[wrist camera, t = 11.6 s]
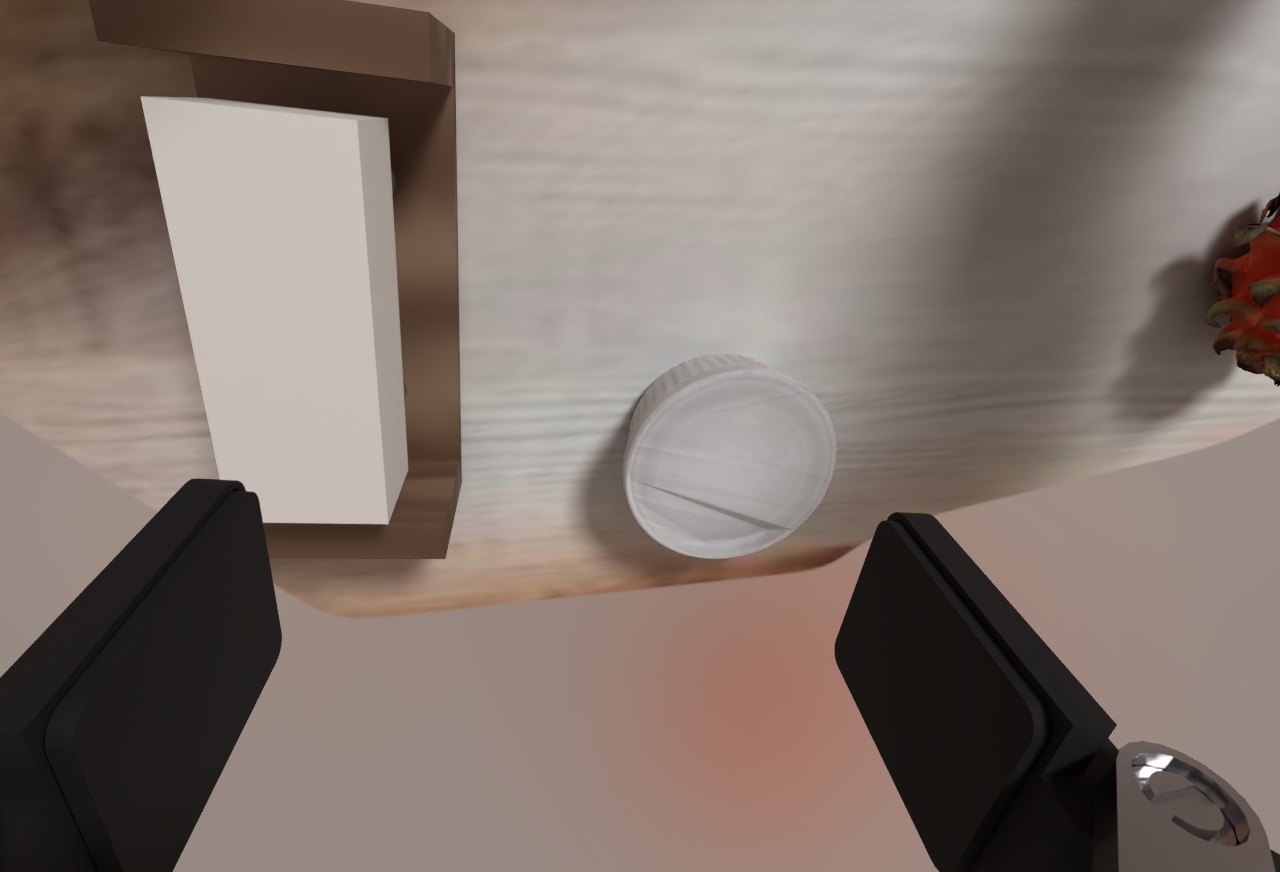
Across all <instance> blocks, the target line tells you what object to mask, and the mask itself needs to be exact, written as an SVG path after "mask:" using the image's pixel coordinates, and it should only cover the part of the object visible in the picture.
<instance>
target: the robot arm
mask: <svg viewBox="0 0 1280 872" xmlns="http://www.w3.org/2000/svg"><path fill="white" fill-rule="evenodd" d="M281 641H282V634H281V627H280V621H279V615H278V609H277V603H276V597H275V591H274V585H273V579H272V573H271V568H270V562H269V556H268V550H267V544H266V538H265V532H264V526H263V520H262V514H261V508H260V502H259V498H258V496H257V494H256V493H255V492H249V491H246V489H245V487H244V485H243V484H242V483H241V482H240V481H236V480H215V479H191V480H189V481H188V482H187V483H185V484H184V485H183V487H182V488H181V489H180V490H179V491H178V492H177V493H176V494H175V495H174V496H173V497H172V498H171V499H170V500H169V501H168V502H167V503H166V504H165V505H164V506H163V508H162V509H161V510H160V511H159V512H158V513H157V514H156V515H155V516H154V517H153V518H152V519H151V520H150V521H149V522H148V523H147V524H146V526H145V527H144V528H143V529H142V530H141V531H140V532H139V533H138V534H137V535H136V536H135V537H134V538H133V539H132V540H131V541H130V542H129V543H128V544H127V545H126V546H125V548H124V549H123V550H122V551H121V552H120V553H119V554H118V555H117V556H116V557H115V558H114V559H113V560H112V561H111V562H110V563H109V565H107V567H106V568H105V569H104V570H103V571H102V572H101V573H100V574H99V575H98V576H97V577H96V578H95V579H94V580H93V581H92V582H91V583H90V584H89V585H88V586H87V587H86V588H85V589H84V590H83V592H82V593H81V594H80V595H79V596H78V597H77V598H76V599H75V600H74V601H73V602H72V603H71V604H70V605H69V606H68V607H67V609H65V610H64V611H63V613H62V614H61V615H60V616H59V617H58V618H57V619H56V620H55V621H54V622H53V623H52V624H51V625H50V626H49V627H48V628H47V629H46V630H45V631H44V633H43V634H42V635H41V636H40V637H39V638H38V639H37V640H36V641H35V642H34V643H33V644H32V645H31V646H30V647H29V648H28V649H27V650H26V651H25V652H24V654H23V655H22V656H21V657H20V658H19V659H18V660H17V661H16V662H15V663H14V664H13V665H12V666H11V667H10V668H9V669H8V670H7V671H6V673H4V675H3V676H2V677H1V678H0V872H173V869H174V867H175V865H176V863H177V861H178V859H179V857H180V855H181V853H182V851H183V849H184V847H185V845H186V843H187V841H188V839H189V837H190V835H191V833H192V831H193V829H194V827H195V825H196V823H197V821H198V819H199V817H200V815H201V813H202V811H203V809H204V807H205V805H206V803H207V801H208V799H209V797H210V795H211V793H212V791H213V789H214V787H215V785H216V782H217V781H218V778H219V777H220V775H221V773H222V771H223V768H224V767H225V764H226V762H227V760H228V758H229V756H230V754H231V752H232V750H233V748H234V746H235V744H236V742H237V740H238V738H239V736H240V734H241V732H242V730H243V728H244V726H245V724H246V722H247V720H248V718H249V716H250V714H251V712H252V710H253V708H254V706H255V704H256V702H257V699H258V698H259V696H260V694H261V692H262V690H263V688H264V686H265V684H266V682H267V680H268V678H269V676H270V674H271V672H272V669H273V668H274V666H275V664H276V661H277V659H278V656H279V653H280V649H281ZM835 659H836V662H837V665H838V668H839V670H840V672H841V674H842V676H843V678H844V680H845V682H846V684H847V686H848V688H849V690H850V692H851V694H852V696H853V699H854V701H855V703H856V705H857V707H858V709H859V711H860V713H861V715H862V717H863V719H864V721H865V723H866V725H867V728H868V729H869V732H870V734H871V736H872V738H873V740H874V742H875V744H876V746H877V748H878V750H879V752H880V755H881V757H882V758H883V761H884V763H885V765H886V767H887V769H888V771H889V773H890V775H891V777H892V779H893V782H894V784H895V786H896V788H897V790H898V792H899V794H900V796H901V798H902V800H903V802H904V804H905V806H906V809H907V811H908V813H909V815H910V817H911V819H912V821H913V823H914V825H915V827H916V829H917V831H918V833H919V835H920V838H921V839H922V842H923V844H924V846H925V848H926V850H927V852H928V854H929V856H930V858H931V860H932V862H933V864H934V865H935V867H936V868H937V869H938V870H939V872H1280V855H1279V854H1278V853H1276V852H1274V851H1272V850H1270V847H1269V842H1268V839H1267V835H1266V832H1265V830H1264V828H1263V826H1262V823H1261V822H1260V819H1259V817H1258V816H1257V815H1256V813H1255V812H1254V811H1253V809H1252V808H1251V807H1250V805H1249V804H1248V803H1247V801H1246V800H1245V799H1244V798H1243V797H1242V796H1241V795H1240V794H1239V793H1238V792H1237V791H1236V790H1235V789H1234V788H1233V787H1232V786H1231V785H1230V784H1229V783H1228V782H1227V781H1225V780H1224V779H1223V778H1221V777H1220V776H1219V775H1217V774H1216V773H1215V772H1213V771H1212V770H1211V769H1209V768H1208V767H1206V766H1205V765H1203V764H1202V763H1200V762H1198V761H1196V760H1194V759H1193V758H1191V757H1189V756H1187V755H1186V754H1184V753H1182V752H1179V751H1177V750H1174V749H1171V748H1169V747H1166V746H1164V745H1161V744H1156V743H1151V742H1145V741H1139V742H1130V743H1127V744H1126V745H1125V746H1123V747H1122V748H1120V749H1119V750H1118V749H1117V748H1116V747H1115V746H1114V744H1113V743H1112V742H1111V741H1110V740H1109V739H1108V737H1109V736H1110V734H1111V733H1112V731H1113V730H1114V729H1115V727H1116V726H1117V725H1116V723H1115V722H1114V721H1113V720H1112V719H1111V718H1110V717H1109V715H1108V714H1107V713H1106V712H1105V711H1104V710H1103V709H1102V708H1101V706H1100V705H1099V704H1098V703H1097V702H1096V701H1095V699H1094V698H1093V697H1092V696H1091V695H1090V694H1089V693H1088V691H1087V690H1086V689H1085V688H1084V687H1083V686H1082V685H1081V683H1080V682H1079V681H1078V680H1077V679H1076V678H1075V677H1074V675H1072V673H1071V672H1070V671H1069V670H1068V669H1067V668H1066V666H1065V665H1064V664H1063V663H1062V662H1061V661H1060V660H1059V659H1058V657H1057V656H1056V655H1055V654H1054V653H1053V652H1052V651H1051V649H1050V648H1049V647H1048V646H1047V645H1046V644H1045V642H1044V641H1043V640H1042V639H1041V638H1040V637H1039V636H1038V635H1037V634H1036V632H1035V631H1034V630H1033V629H1032V628H1031V626H1030V625H1029V624H1028V623H1027V622H1026V621H1025V620H1024V618H1022V616H1021V615H1020V614H1019V613H1018V612H1017V611H1016V609H1015V608H1014V607H1013V606H1012V605H1011V604H1010V603H1009V601H1008V600H1007V599H1006V598H1005V597H1004V596H1003V595H1002V593H1001V592H1000V591H999V590H998V589H997V588H996V587H995V585H994V584H993V583H992V582H991V581H990V580H989V579H988V577H987V576H986V575H985V574H984V573H983V572H982V571H981V569H980V568H979V567H978V566H977V565H976V564H975V563H974V561H973V560H972V559H971V558H970V557H969V556H968V555H967V553H966V552H965V551H964V550H963V549H962V548H961V547H960V545H959V544H958V543H957V542H956V541H955V540H954V539H953V537H952V536H951V535H950V534H949V533H948V532H947V531H946V530H945V528H944V527H943V526H942V525H941V524H940V523H939V521H938V520H937V519H936V518H935V517H933V516H932V515H930V514H922V513H901V512H896V513H893V514H891V515H890V516H889V517H888V519H887V521H882V522H881V523H880V524H879V525H878V527H877V529H876V531H875V534H874V537H873V540H872V542H871V545H870V548H869V551H868V553H867V556H866V559H865V562H864V565H863V567H862V570H861V573H860V575H859V578H858V581H857V584H856V587H855V589H854V592H853V595H852V598H851V600H850V603H849V606H848V609H847V611H846V614H845V617H844V620H843V623H842V625H841V628H840V631H839V633H838V636H837V639H836V642H835Z"/></svg>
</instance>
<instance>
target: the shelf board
mask: <svg viewBox="0 0 1280 872" xmlns="http://www.w3.org/2000/svg"><path fill="white" fill-rule="evenodd" d="M140 97H141V101H142V106H143V111H144V116H145V121H146V125H147V130H148V135H149V140H150V145H151V150H152V154H153V159H154V164H155V169H156V174H157V178H158V183H159V188H160V193H161V198H162V202H163V207H164V212H165V217H166V222H167V227H168V231H169V236H170V241H171V246H172V251H173V255H174V260H175V265H176V270H177V275H178V280H179V284H180V289H181V294H182V299H183V304H184V308H185V313H186V318H187V323H188V328H189V333H190V337H191V342H192V347H193V352H194V357H195V361H196V366H197V371H198V376H199V381H200V385H201V390H202V395H203V400H204V405H205V410H206V414H207V419H208V424H209V429H210V434H211V438H212V443H213V448H214V453H215V458H216V463H217V467H218V472H219V477H220V480H236V481H240V482H241V483H242V484H243V485H244V487H245V489H246V491H249V492H255V493H256V494H257V496H258V498H259V502H260V508H261V514H262V520H263V523H327V524H389V521H390V518H391V515H392V513H393V510H394V507H395V505H396V502H397V499H398V496H399V494H400V491H401V488H402V486H403V483H404V480H405V477H406V475H407V472H408V456H407V438H406V421H405V404H404V386H403V369H402V352H401V335H400V317H399V300H398V283H397V265H396V248H395V231H394V214H393V196H392V179H391V162H390V145H389V127H388V118H384V117H376V116H367V115H358V114H349V113H340V112H331V111H323V110H314V109H305V108H296V107H287V106H279V105H270V104H261V103H252V102H243V101H234V100H226V99H217V98H198V97H148V96H140Z"/></svg>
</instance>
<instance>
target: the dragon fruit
mask: <svg viewBox="0 0 1280 872" xmlns="http://www.w3.org/2000/svg"><path fill="white" fill-rule="evenodd" d="M1279 206H1280V194H1279V195H1278V196H1277V197H1276V198H1274V199H1271V200H1270V201H1269V202H1268V204H1267V206H1266V208H1265V209H1264V210H1263V209H1262V210H1263V211H1262V215H1261V220H1260V223H1261V222H1262V221H1263V219H1264V217H1268V218H1269V217H1270V216H1272V215H1273V214H1274V212H1275V211H1276V210H1277V209H1278V207H1279ZM1268 210H1270V213H1269V215H1268V216H1265V215H1266V213H1267V212H1268ZM1234 238H1235V239H1234V246H1235V247H1238V246H1240V245H1243V244H1245V243H1249V242H1250V247H1251V250H1250V252H1248V253H1247V254H1245V255H1244V256H1242V257H1240V258H1237V259H1229V258H1220V259H1218V260H1217V261H1216V262H1215V265H1214V268H1213V270H1212V275H1213V281H1212V282H1213V286H1214V288H1215V289H1218V290H1219V291H1220V292H1221V294H1222V295H1221V296H1219V297H1218V302H1217V303H1216V304H1214V305H1213V306H1212V307H1211V308H1210V309H1209V311H1208V313H1207V315H1206V318H1205V322H1206V323H1207V324H1209V325H1211V326H1213V327H1219V328H1220V327H1221V326H1220V325H1219V324H1218V323H1217V322H1214V316H1215V315H1217V314H1219V313H1225V314H1227V315H1229V316H1230V317H1231V319H1230V321H1231V323H1230V324H1229V325H1228V326H1227V327H1225V328H1224V330H1223V331H1222V332H1221V333H1220V334H1219V335H1218V336H1217V338H1216V339H1215V341H1214V344H1213V349H1214V350H1215V353H1217V354H1218V355H1220V354H1221V353H1220V352H1221V351H1224V350H1226V349H1234V350H1238V351H1237V354H1236V358H1237V366H1238V367H1239V368H1242V369H1243V370H1245V371H1249V372H1251V373H1255V374H1263V373H1264V374H1265V376H1269V377H1270V378H1271V379H1273V381H1275V382H1274V383H1275V385H1276V384H1278V385H1277V387H1278V386H1279V385H1280V215H1279V216H1278V217H1277V218H1276V219H1275V220H1274V221H1273V222H1272V223H1271V224H1269V225H1268V223H1263V224H1249V225H1247V226H1246V227H1242V228H1237V229H1235V230H1234ZM1222 269H1224V270H1227V271H1229V273H1230V275H1231V279H1232V290H1230V288H1229V286H1228V284H1227V283H1226V282H1225V281H1224V280H1223V278H1222V276H1221V274H1220V273H1221V270H1222Z"/></svg>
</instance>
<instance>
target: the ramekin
mask: <svg viewBox="0 0 1280 872" xmlns="http://www.w3.org/2000/svg"><path fill="white" fill-rule="evenodd" d="M836 454H837V443H836V435H835V430H834V426H833V423H832V421H831V418H830V416H829V414H828V412H827V410H826V409H825V407H824V405H823V404H822V402H821V401H820V399H819V398H818V397H817V396H816V395H815V394H814V393H813V392H812V391H811V390H810V389H809V388H808V387H807V386H805V385H804V384H803V383H801V382H800V381H799V380H797V379H795V378H794V377H792V376H790V375H788V374H786V373H784V372H781V371H779V370H776V369H773V368H769V367H767V366H765V365H764V364H762V363H760V362H756V361H754V360H753V359H751V358H746V357H743V356H739V355H731V354H714V355H705V356H702V357H697V358H693V359H691V360H689V361H686V362H682V363H681V364H679V365H678V366H676V367H673V368H671V369H670V370H669V371H667V372H666V373H664V374H662V375H661V376H660V377H659V378H658V379H657V380H656V381H654V383H653V384H652V385H651V386H650V387H649V388H648V389H647V390H646V392H645V394H644V395H643V397H642V398H641V399H640V401H639V403H638V406H637V407H636V409H635V411H634V415H633V418H632V420H631V424H630V431H629V436H628V443H627V446H626V450H625V454H624V459H623V466H622V482H623V489H624V494H625V498H626V501H627V504H628V507H629V509H630V512H631V514H632V516H633V517H634V519H635V521H636V522H637V524H638V525H639V526H640V527H641V528H642V530H643V531H644V532H645V533H646V534H647V535H648V536H650V537H651V538H652V539H653V540H654V541H656V542H657V543H659V544H660V545H662V546H664V547H666V548H667V549H670V550H672V551H674V552H677V553H679V554H682V555H686V556H690V557H695V558H702V559H728V558H734V557H740V556H744V555H748V554H752V553H755V552H758V551H760V550H763V549H765V548H768V547H770V546H772V545H774V544H776V543H777V542H779V541H781V540H782V539H784V538H785V537H787V536H788V535H790V534H791V533H793V532H794V531H795V530H796V529H797V528H799V527H800V526H801V525H802V524H803V523H804V522H805V521H806V520H807V519H808V518H809V517H810V516H811V514H812V513H813V512H814V511H815V509H816V508H817V507H818V505H819V504H820V502H821V501H822V499H823V497H824V496H825V494H826V492H827V490H828V487H829V485H830V483H831V480H832V477H833V474H834V469H835V464H836Z"/></svg>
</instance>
